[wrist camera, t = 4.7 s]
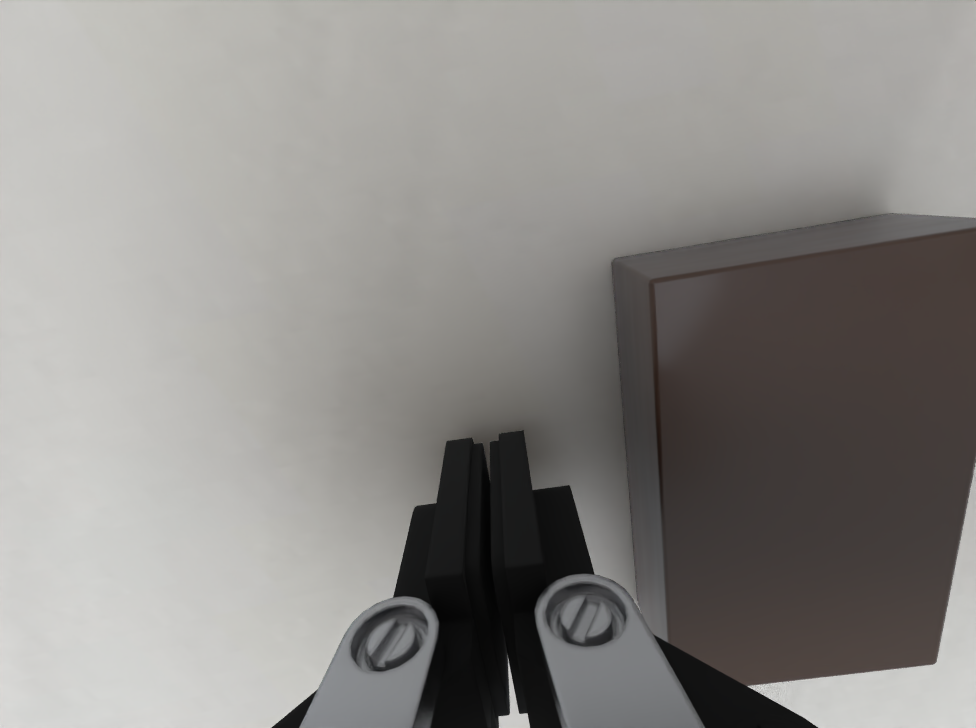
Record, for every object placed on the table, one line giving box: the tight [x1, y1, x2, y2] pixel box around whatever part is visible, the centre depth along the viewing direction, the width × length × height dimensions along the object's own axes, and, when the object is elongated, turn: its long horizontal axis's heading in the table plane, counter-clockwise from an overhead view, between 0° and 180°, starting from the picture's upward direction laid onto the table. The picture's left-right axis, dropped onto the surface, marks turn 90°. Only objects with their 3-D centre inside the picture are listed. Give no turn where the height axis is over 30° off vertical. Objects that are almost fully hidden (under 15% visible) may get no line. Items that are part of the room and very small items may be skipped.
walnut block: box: [612, 213, 976, 686], centre depth 10 cm, size 9×6×2 cm, turn 9°
